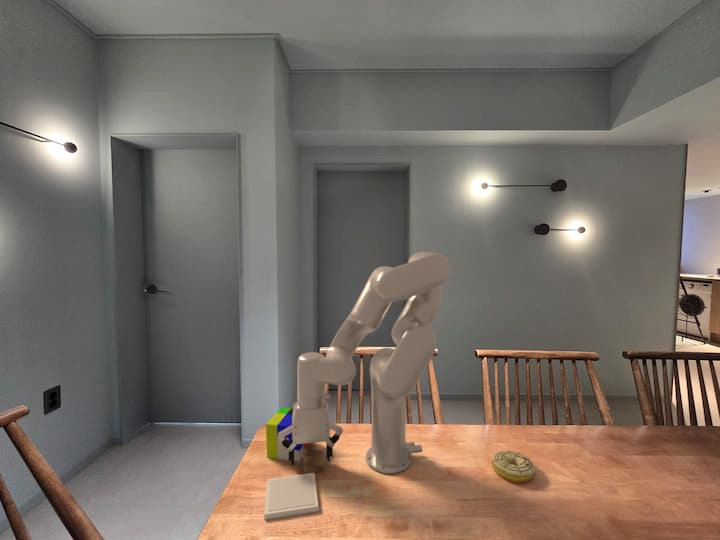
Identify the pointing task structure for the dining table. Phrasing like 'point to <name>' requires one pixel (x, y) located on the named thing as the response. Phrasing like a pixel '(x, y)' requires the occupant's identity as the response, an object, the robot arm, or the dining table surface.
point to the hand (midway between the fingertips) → (310, 460)
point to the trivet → (290, 496)
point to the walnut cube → (313, 459)
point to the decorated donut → (513, 466)
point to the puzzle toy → (273, 442)
